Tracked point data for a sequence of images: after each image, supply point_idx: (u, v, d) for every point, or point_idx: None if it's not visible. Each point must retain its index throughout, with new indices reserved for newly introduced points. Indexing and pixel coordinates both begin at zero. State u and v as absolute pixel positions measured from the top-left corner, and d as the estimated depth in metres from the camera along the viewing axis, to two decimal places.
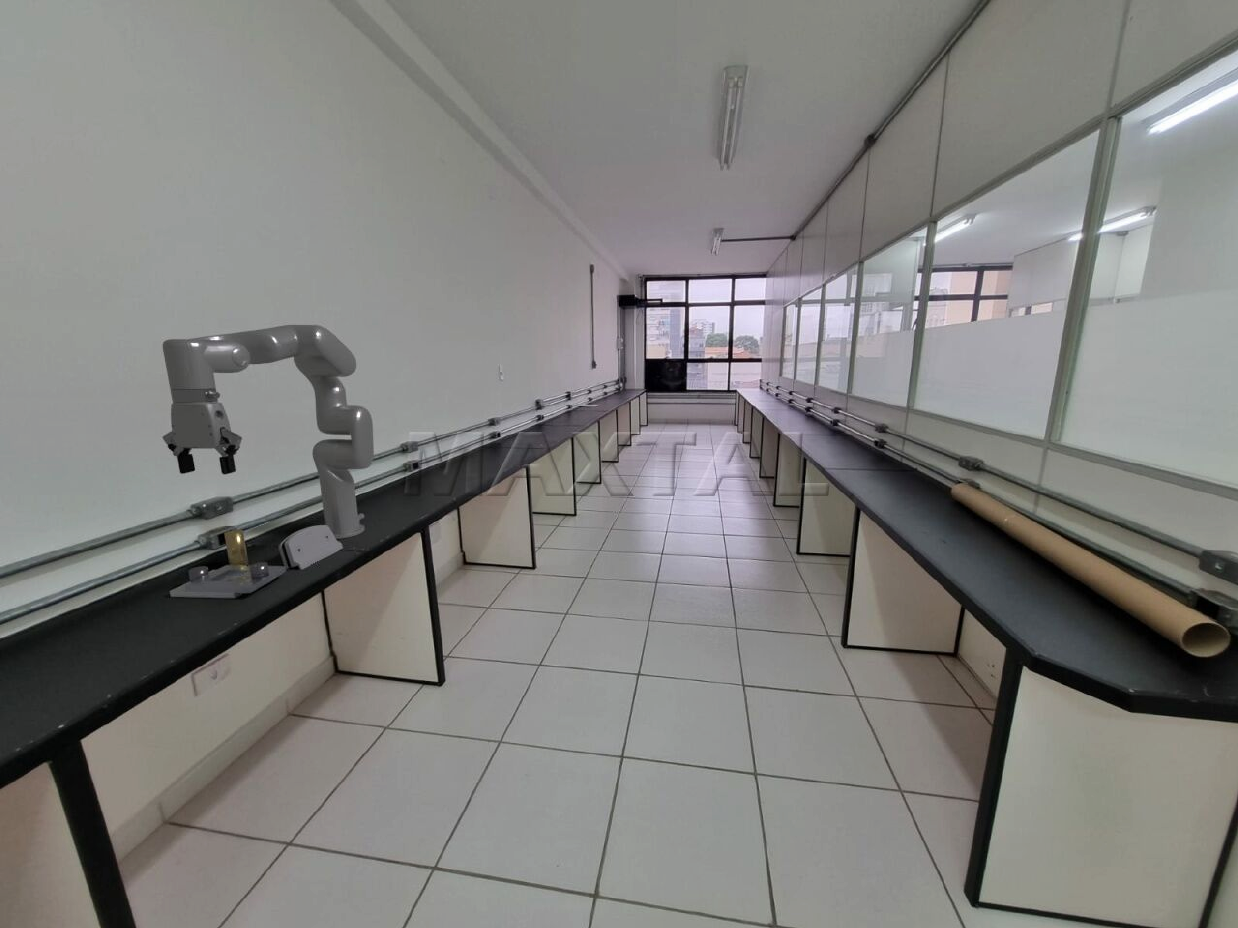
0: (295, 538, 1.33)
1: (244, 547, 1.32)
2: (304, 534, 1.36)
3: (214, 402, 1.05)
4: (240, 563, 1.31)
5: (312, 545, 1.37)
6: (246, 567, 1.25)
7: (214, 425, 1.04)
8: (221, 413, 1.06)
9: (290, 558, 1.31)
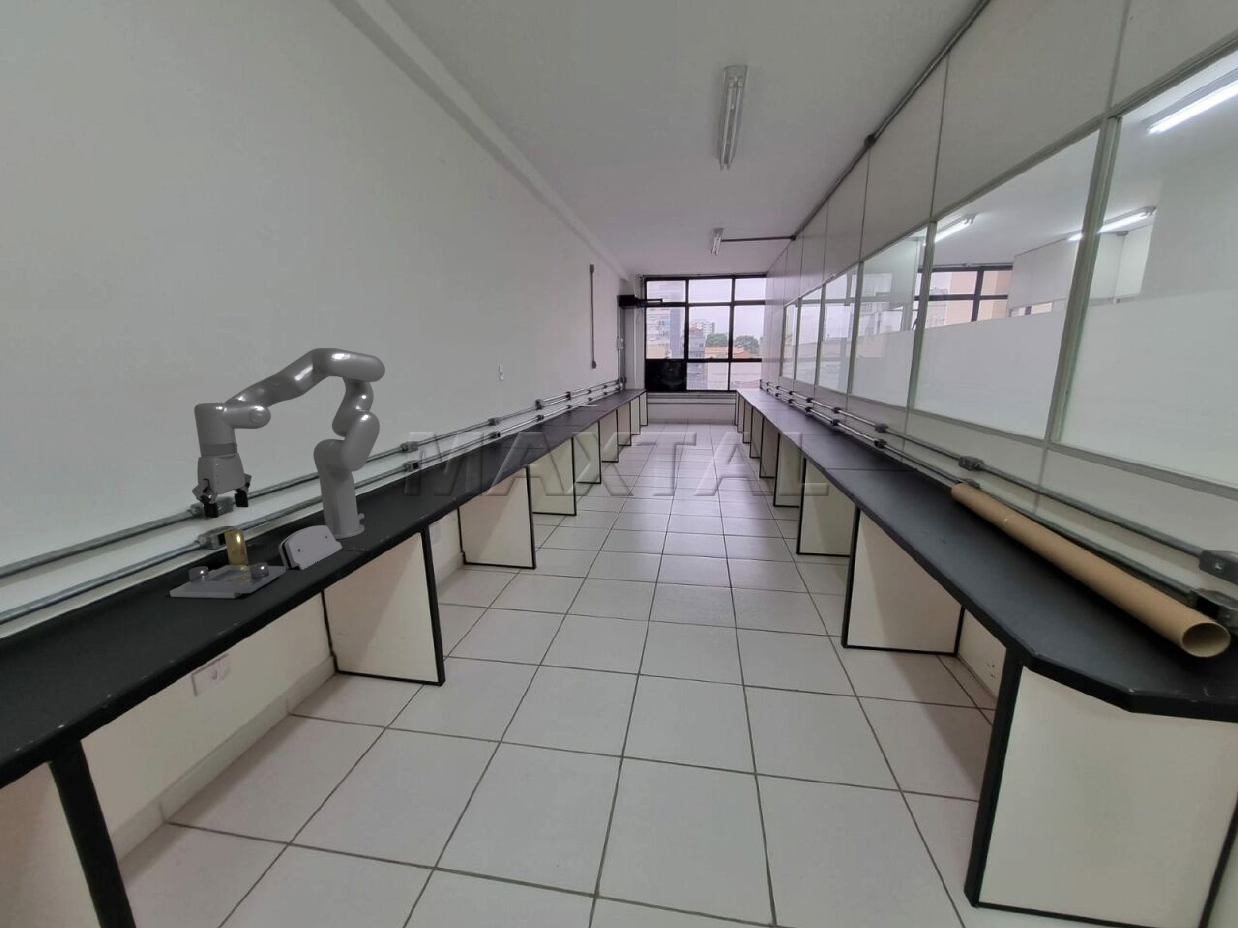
0: (295, 538, 1.33)
1: (244, 547, 1.32)
2: (303, 534, 1.36)
3: None
4: (240, 563, 1.31)
5: (312, 545, 1.37)
6: (246, 567, 1.25)
7: None
8: None
9: (290, 558, 1.30)
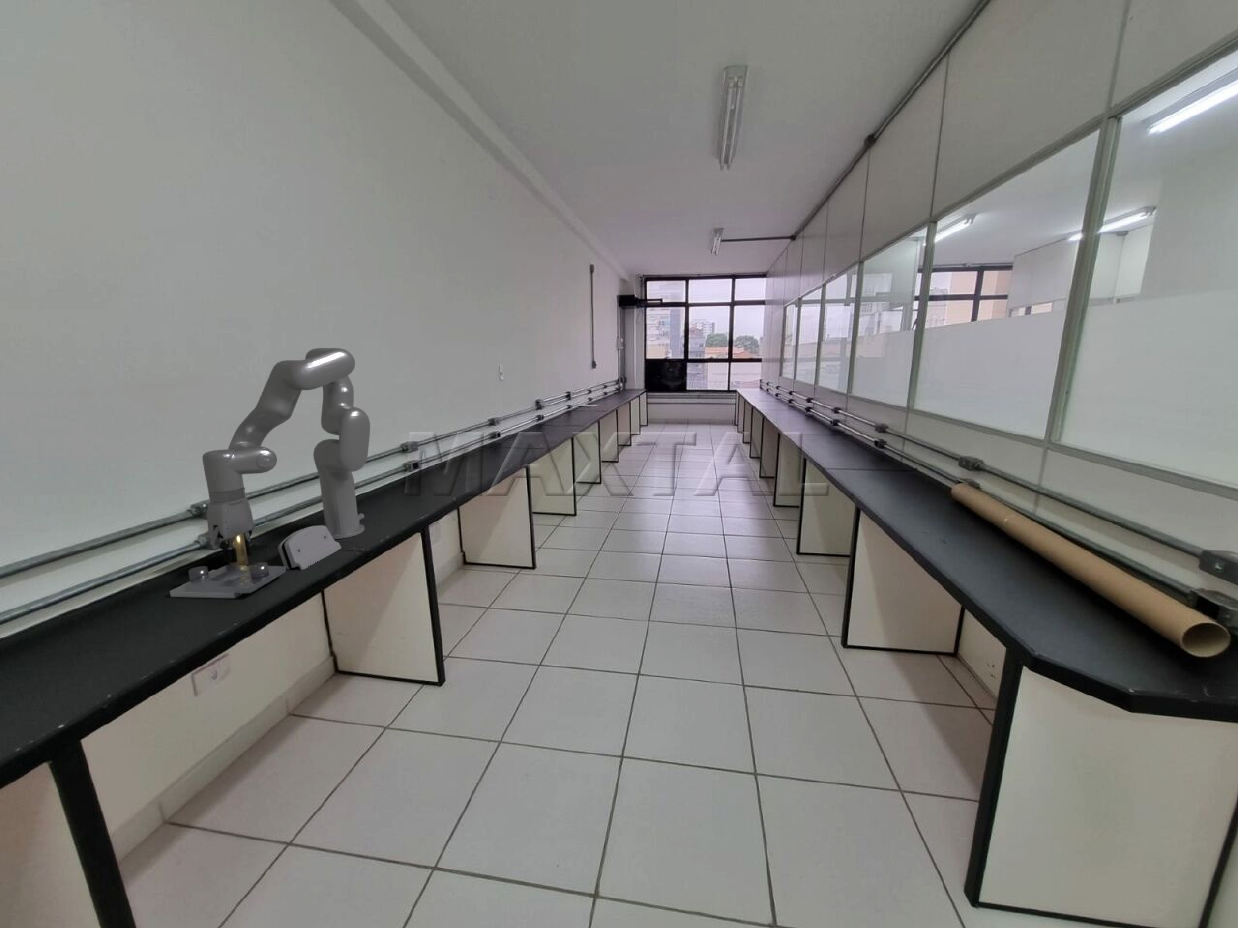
0: (295, 538, 1.33)
1: (244, 547, 1.32)
2: (303, 534, 1.36)
3: None
4: (240, 563, 1.31)
5: (311, 545, 1.37)
6: (246, 567, 1.25)
7: None
8: None
9: (290, 559, 1.30)
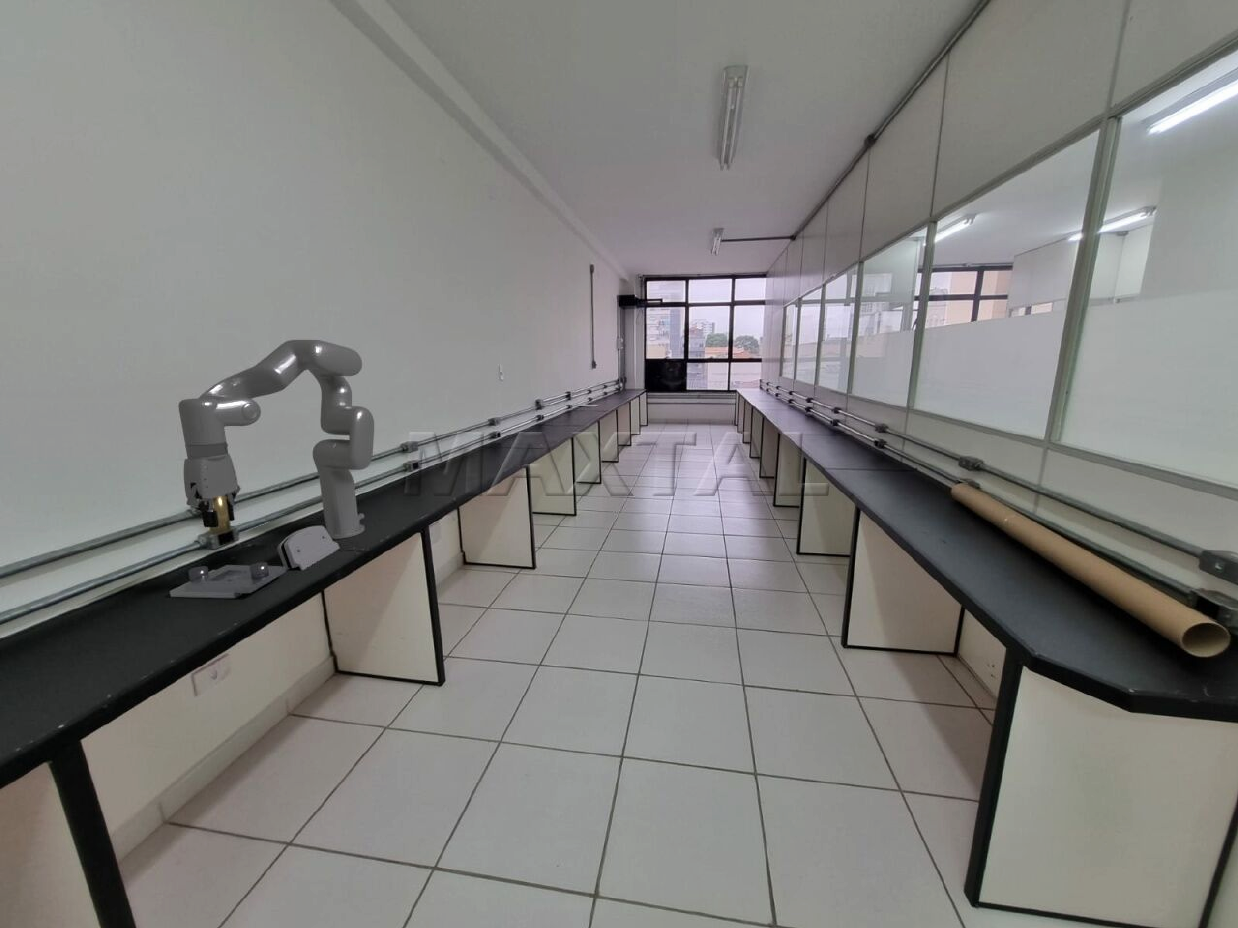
0: (294, 539, 1.32)
1: (226, 510, 1.17)
2: (302, 535, 1.35)
3: None
4: (221, 528, 1.16)
5: (310, 546, 1.37)
6: (246, 567, 1.25)
7: None
8: None
9: (290, 559, 1.30)
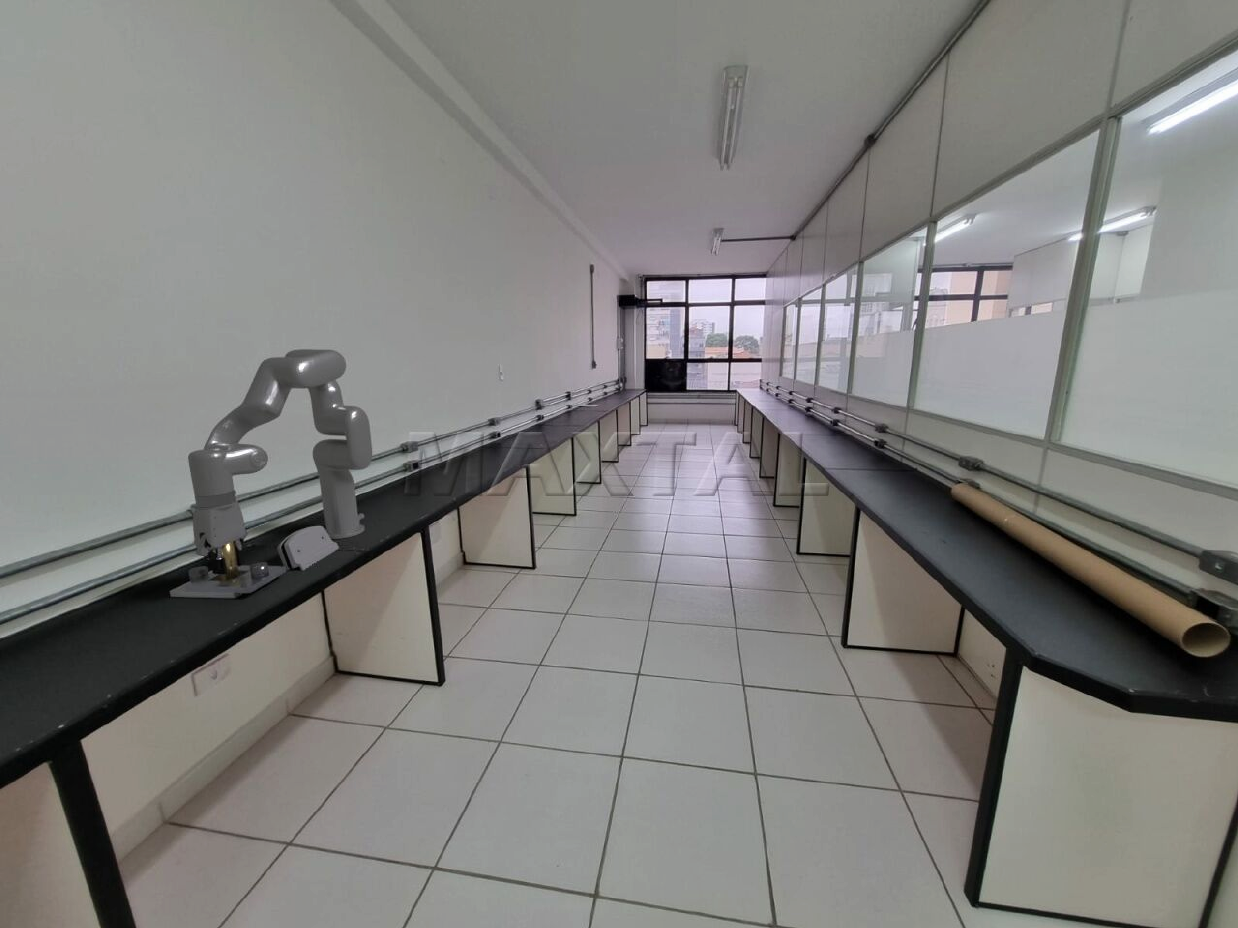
0: (294, 539, 1.32)
1: (234, 557, 1.19)
2: (302, 535, 1.35)
3: None
4: (230, 574, 1.19)
5: (310, 546, 1.37)
6: (246, 567, 1.25)
7: None
8: None
9: (291, 559, 1.30)
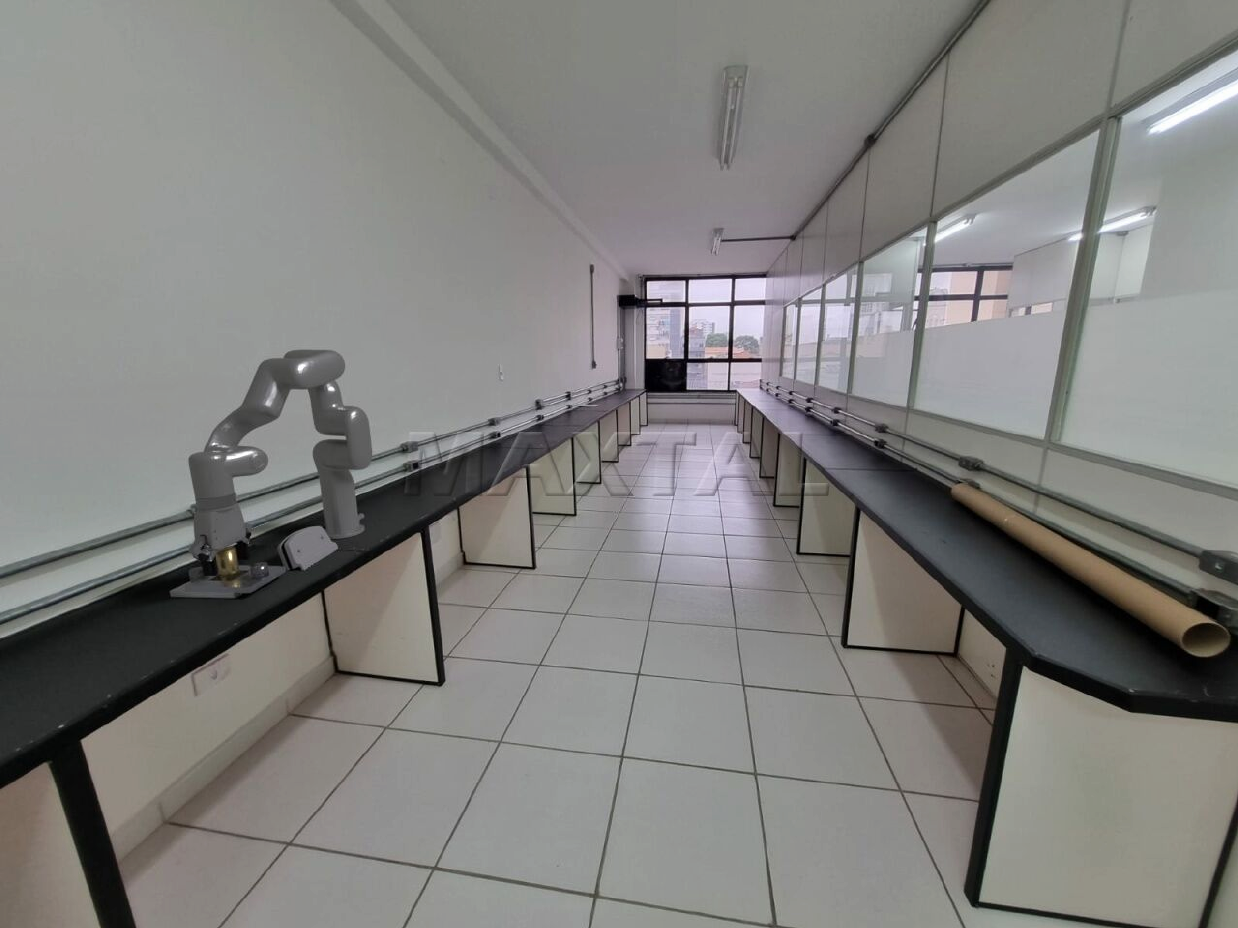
0: (294, 539, 1.32)
1: (237, 566, 1.20)
2: (301, 535, 1.35)
3: None
4: None
5: (310, 546, 1.37)
6: (246, 567, 1.25)
7: None
8: None
9: (291, 559, 1.30)
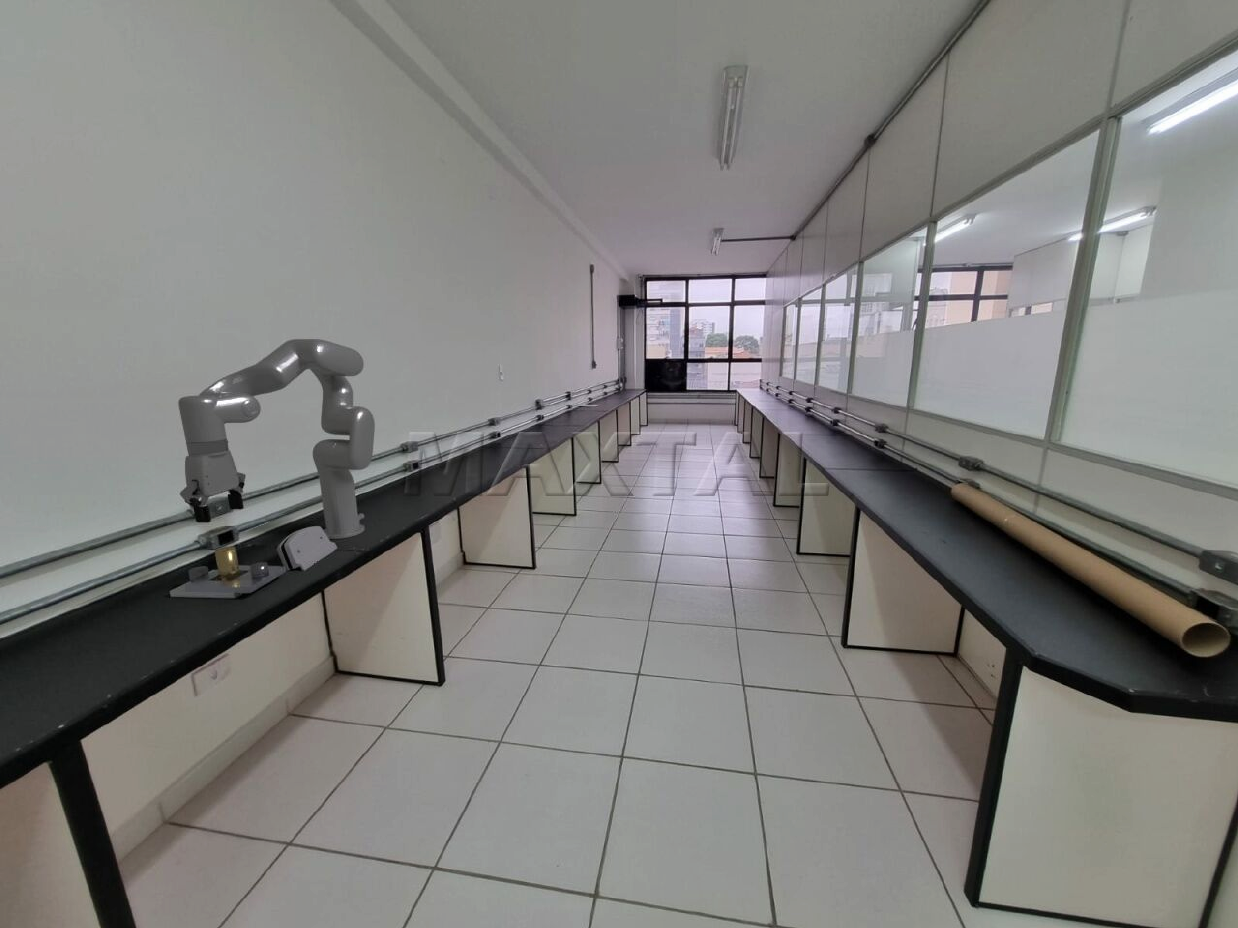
0: (294, 539, 1.32)
1: (237, 566, 1.20)
2: (301, 535, 1.35)
3: None
4: None
5: (309, 546, 1.37)
6: (246, 567, 1.25)
7: None
8: None
9: (291, 560, 1.30)
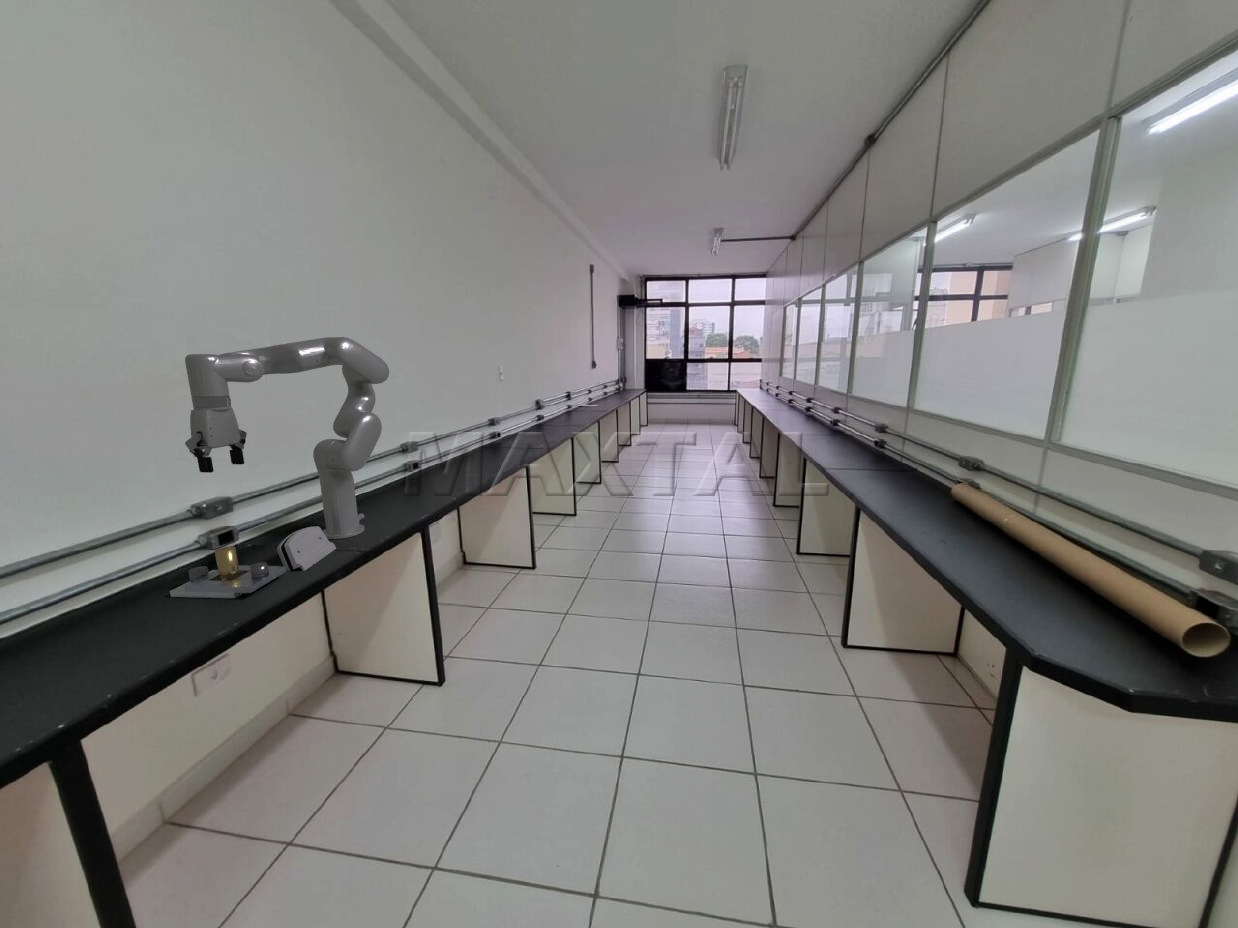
0: (294, 540, 1.32)
1: (237, 566, 1.20)
2: (301, 536, 1.35)
3: None
4: None
5: (309, 546, 1.36)
6: (246, 567, 1.25)
7: None
8: None
9: (291, 560, 1.29)
